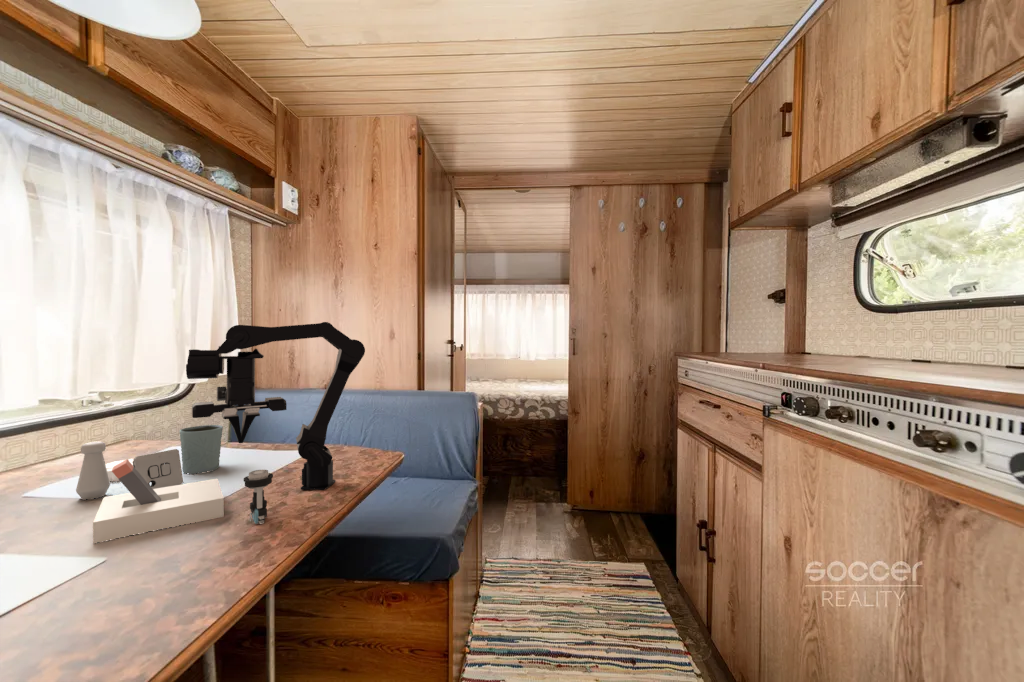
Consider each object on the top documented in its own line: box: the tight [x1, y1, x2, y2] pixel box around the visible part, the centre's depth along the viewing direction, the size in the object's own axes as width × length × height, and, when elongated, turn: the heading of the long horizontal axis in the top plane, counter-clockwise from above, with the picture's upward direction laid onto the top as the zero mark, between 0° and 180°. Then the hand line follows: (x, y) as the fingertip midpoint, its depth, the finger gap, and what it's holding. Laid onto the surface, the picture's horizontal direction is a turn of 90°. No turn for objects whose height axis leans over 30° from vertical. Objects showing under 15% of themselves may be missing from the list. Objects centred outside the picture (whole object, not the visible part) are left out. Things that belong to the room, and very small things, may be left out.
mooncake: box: [105, 458, 134, 482], centre depth 119 cm, size 12×12×4 cm
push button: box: [243, 469, 274, 525], centre depth 89 cm, size 7×5×10 cm
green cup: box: [179, 424, 224, 475], centre depth 124 cm, size 10×10×12 cm
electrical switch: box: [132, 448, 184, 489], centre depth 109 cm, size 9×5×9 cm, turn 152°
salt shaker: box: [75, 440, 111, 501], centre depth 102 cm, size 6×6×13 cm
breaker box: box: [92, 478, 225, 545], centre depth 91 cm, size 20×16×4 cm
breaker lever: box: [112, 458, 161, 505], centre depth 89 cm, size 2×4×11 cm, turn 39°
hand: (240, 442), depth 103 cm, fingers closed
